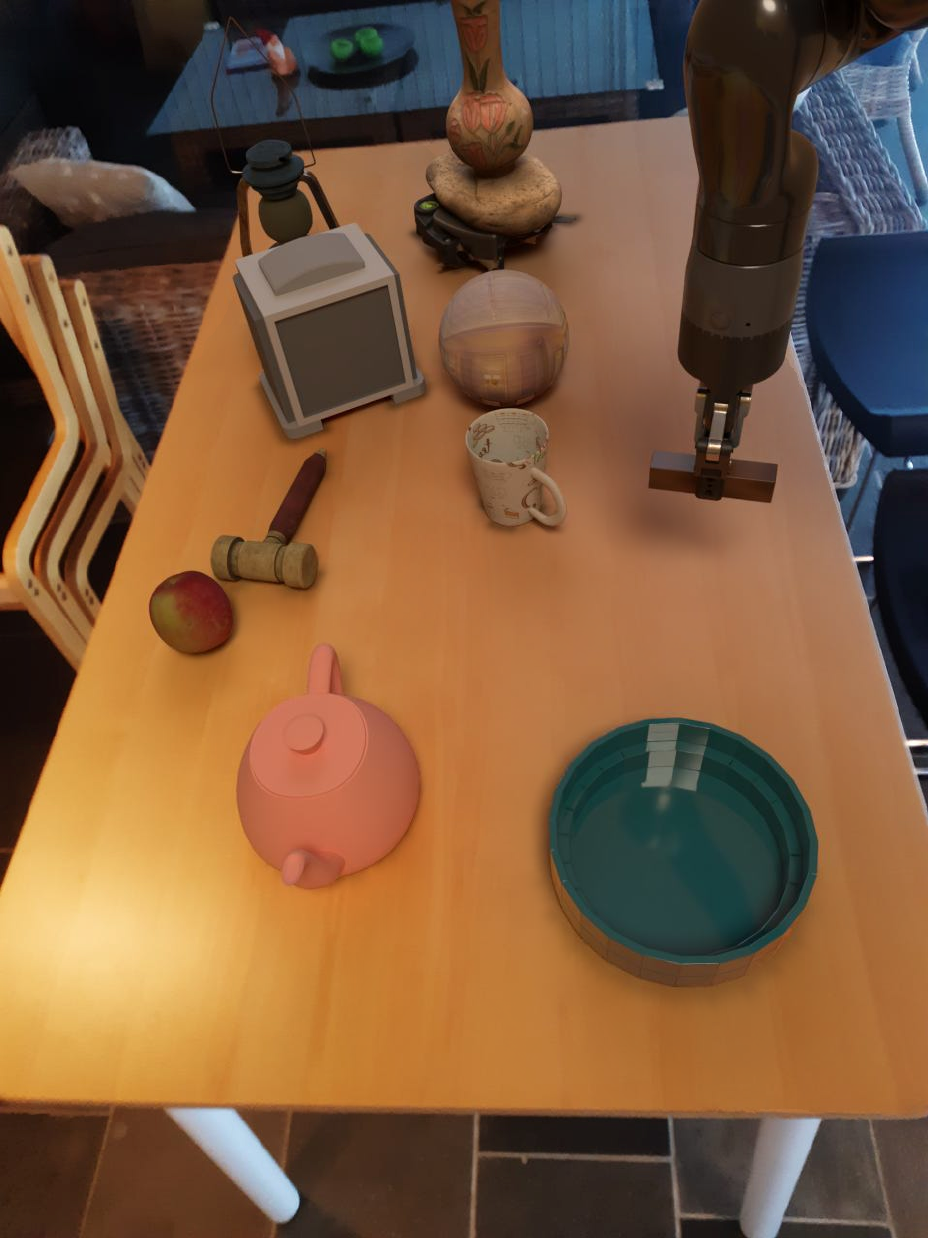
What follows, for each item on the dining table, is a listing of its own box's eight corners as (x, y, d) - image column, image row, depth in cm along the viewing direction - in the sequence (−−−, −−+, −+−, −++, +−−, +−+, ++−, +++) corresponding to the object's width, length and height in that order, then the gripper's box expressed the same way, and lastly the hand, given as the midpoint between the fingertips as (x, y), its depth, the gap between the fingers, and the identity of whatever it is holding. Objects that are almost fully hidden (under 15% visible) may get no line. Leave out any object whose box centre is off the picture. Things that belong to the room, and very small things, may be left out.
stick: (773, 485, 73) (778, 463, 71) (771, 503, 72) (775, 482, 70) (652, 471, 76) (653, 449, 74) (648, 488, 75) (649, 467, 73)
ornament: (592, 376, 107) (594, 262, 96) (524, 448, 101) (517, 335, 89) (492, 342, 114) (482, 231, 102) (422, 407, 107) (402, 297, 95)
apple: (242, 599, 91) (217, 547, 85) (243, 661, 86) (216, 610, 80) (169, 613, 91) (139, 562, 85) (166, 677, 86) (133, 627, 80)
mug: (513, 469, 99) (507, 397, 91) (596, 523, 92) (598, 450, 85) (458, 508, 96) (448, 437, 88) (541, 567, 90) (537, 496, 82)
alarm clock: (392, 338, 117) (366, 202, 102) (428, 392, 109) (406, 253, 94) (260, 382, 114) (214, 249, 99) (288, 442, 106) (242, 306, 91)
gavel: (279, 430, 102) (360, 436, 100) (288, 461, 105) (367, 468, 103) (204, 556, 89) (296, 566, 87) (217, 587, 92) (306, 597, 90)
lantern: (361, 273, 127) (302, -11, 100) (353, 320, 120) (287, 29, 93) (266, 281, 129) (181, 3, 101) (252, 328, 121) (157, 43, 94)
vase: (393, 279, 125) (342, -8, 98) (431, 200, 138) (395, -73, 111) (557, 285, 120) (552, -17, 93) (580, 202, 133) (581, -84, 106)
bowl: (806, 778, 72) (822, 742, 68) (794, 1020, 62) (812, 996, 57) (576, 735, 77) (576, 699, 72) (526, 953, 66) (523, 926, 61)
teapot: (421, 938, 68) (395, 878, 58) (231, 947, 69) (174, 889, 59) (426, 697, 81) (405, 616, 72) (266, 708, 82) (225, 629, 73)
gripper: (788, 366, 55) (748, 552, 69) (803, 248, 63) (764, 436, 77) (667, 356, 57) (651, 538, 71) (696, 243, 65) (677, 426, 79)
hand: (710, 484), depth 74 cm, fingers closed on stick, 2 cm apart
